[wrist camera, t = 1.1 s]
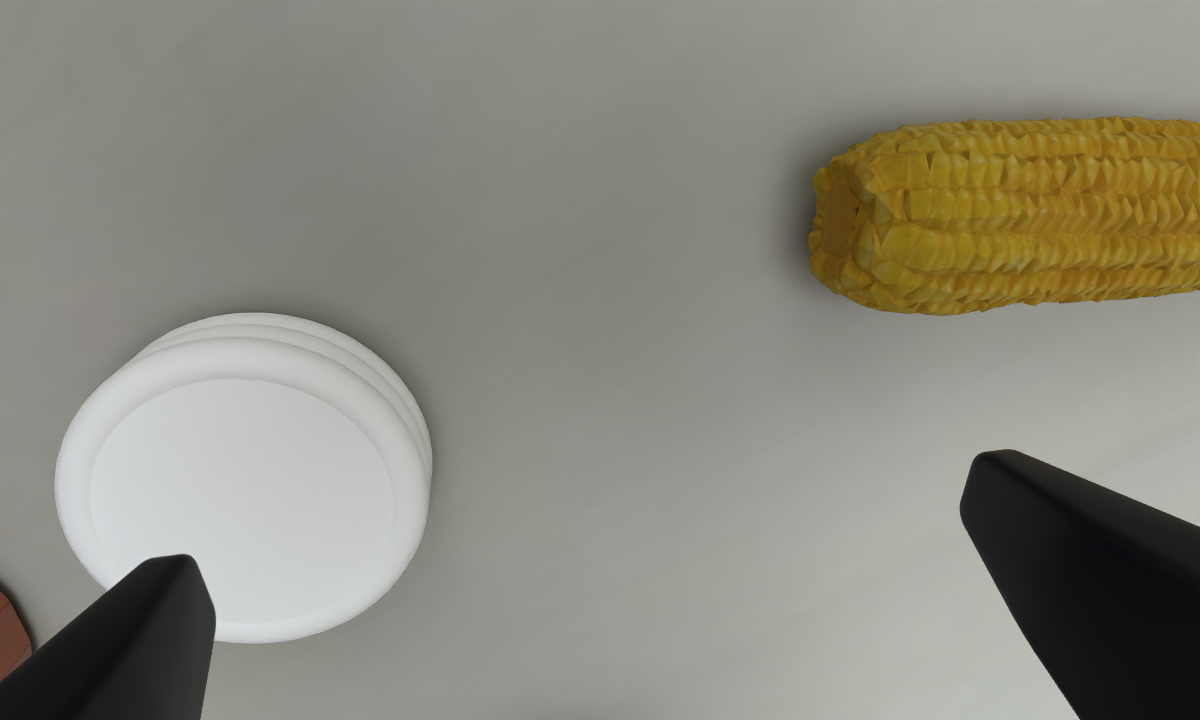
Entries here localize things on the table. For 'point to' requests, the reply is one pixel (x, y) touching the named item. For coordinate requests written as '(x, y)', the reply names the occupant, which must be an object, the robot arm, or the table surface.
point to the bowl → (11, 639)
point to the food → (1010, 214)
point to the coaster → (252, 472)
